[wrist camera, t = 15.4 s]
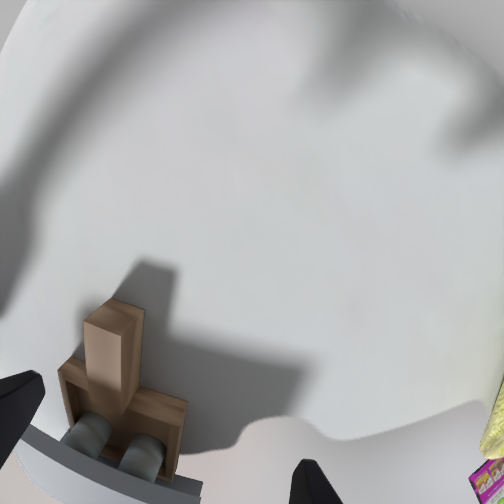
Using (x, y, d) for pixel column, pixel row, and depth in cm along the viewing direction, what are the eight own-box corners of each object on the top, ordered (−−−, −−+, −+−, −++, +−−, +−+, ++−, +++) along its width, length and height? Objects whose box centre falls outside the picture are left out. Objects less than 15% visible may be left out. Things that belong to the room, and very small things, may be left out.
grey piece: (69, 434, 27) (34, 485, 18) (52, 364, 24) (-4, 420, 14) (202, 485, 27) (185, 551, 17) (218, 427, 24) (196, 517, 14)
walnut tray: (83, 429, 27) (63, 459, 21) (66, 281, 21) (24, 307, 16) (177, 466, 27) (164, 502, 21) (201, 327, 21) (180, 373, 16)
